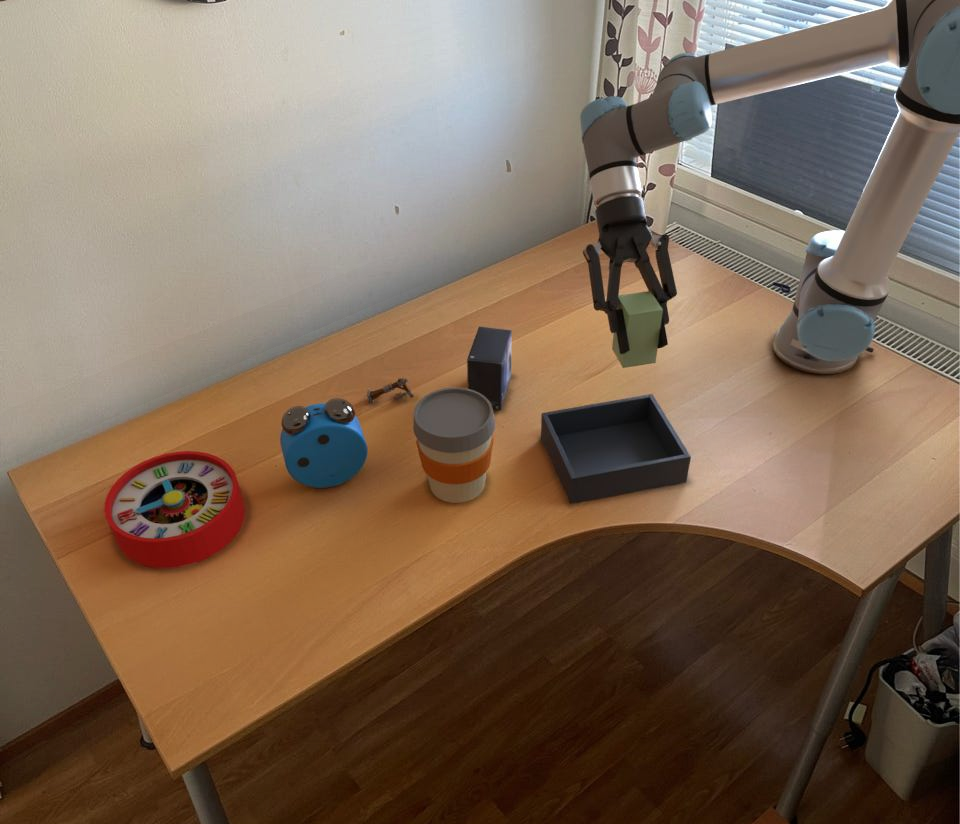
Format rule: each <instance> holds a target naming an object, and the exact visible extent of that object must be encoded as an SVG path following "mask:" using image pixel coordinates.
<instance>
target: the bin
mask: <svg viewBox="0 0 960 824" xmlns="http://www.w3.org/2000/svg"><path fill="white" fill-rule="evenodd" d="M540 421H541V423H540V440H541V442H542V444H543V446H544V448H545V451H546V453H547V456H548V458H549V460H550V462H551V465H552V467H553V469H554V472H555V474H556V476H557V478H558V479H559V483H560V485H561V487H562V490H563V492H564V494H565V497H566V498H567V501H568V503H569V505H574V504H579V503H585V502H589V501H590V502H591V501H596V500H601V499H605V498H611V497H612V498H613V497H616V496H621V495H622V496H623V495H627V494H633V493H637V492H642V491H648V490H653V489H659V488H665V487H669V486H675V485H679V484H680V485H681V484H684V483H685V484H686V483H687V481H688V475H689V470H690V464H691V458H692V456H691V455H690V453H689V451H688V449H687V447H685V444H684V443H683V441H682V440H681V438H680V437H679V435H678V433H677V432H676V430H675V428H674V427H673V425H672V423H671V422H670V420H669V418H668V417H667V415H666V413H665V412H664V410H663V409H662V407H661V405H660V404H659V402H658V400H657V399H656V397H655V395H654V394H653V393H649V394H644V395H638V396H632V397H627V398H620V399H615V400H609V401H603V402H597V403H591V404H587V405H581V406H574V407H568V408H563V409H557V410H551V411H547V412H541V419H540Z"/></svg>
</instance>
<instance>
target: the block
mask: <svg viewBox="0 0 960 824" xmlns="http://www.w3.org/2000/svg"><path fill="white" fill-rule="evenodd" d="M618 309H623V314H624V320H625V326H626V331H627V337H628V343H629V348H630V351H628V352H626V353H625V354H620V351H619V345H618V339H617V334H616V333H612V335H613V336H612V343H611V344H612V345H611V349H612V352H613V353H614V355H615V357H616V359H617V360H618V362H619V364H620V365H621V367H622V369H625V368H631V367H632V368H633V367H640V366H645V365H652V364H656V362H657V357H658V356H657V355H658V349H659V348H658V341H659V334H660V327H661V320H662V313H663V309H662V307H661V306H660V305H659V303H658V302H657V300H656V299H655V297H654V296H653V294H652V293H651V291H648V290H647V291H641V292H633V293H627V294H619V295H618V305H617V310H618Z"/></svg>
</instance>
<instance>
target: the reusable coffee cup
mask: <svg viewBox="0 0 960 824" xmlns="http://www.w3.org/2000/svg"><path fill="white" fill-rule="evenodd" d="M412 421H413V422H412V423H413V424H412V426H413V427H412V430H413V435H414V437H415V438H416V443H415V444H416V449H417V453H418V456H419V457H418V458H419V460H420V464H421V467H422V469H423V471H424V473H425V474H426V476H427V477H426V478H427V480H428V483H429V488H430V490H431V492H432V494H433V495H434V496H435V497H436V498H438V499H439V500H441V501H444V502H446V503H452V504H460V503H466V502H469V501H472V500H474V499H475V498H477V497H479V496H480V495H481V494H482V493H483V491H484V489H485V487H486V486H485V485H486V479H487V472H488V470H489V469H490V466H491V462H492V454H493V449H494V440H495V439H494V432H495V429H496V421H495V415H494V410H493V409H492V405H491V403H490V401H489V400H488V399H487V398H486V397H485V396H484V395H482V394H481V393H479V392H476V391H474V390H470V389H468V388H466V387H445V388H439V389H436V390H434V391H431V392H429V393H428V394H426V395H424V396H423V397H422V398H421V399H419V401H418V402H417V403H416V405H415V407H414V409H413V420H412Z"/></svg>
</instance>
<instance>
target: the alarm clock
mask: <svg viewBox="0 0 960 824" xmlns="http://www.w3.org/2000/svg"><path fill="white" fill-rule="evenodd" d="M279 442H280V448H281V452H282V457H283V460H284V461H283V462H284V466H285V468H286V471H287V473H288V474H289V475H290V476H291V478H293V479H294V480H295V481H296V482H298V483H299V484H301V485H304V486H307V487H309V488H314V489H315V488H316V489H325V488H333V487H336V486H339V485H342V484H345V483H347V482H348V481H350V480H351V479H353V478H354V477H356V476H357V474H358V473H359V472H361V470H362V469H363V467H364V466H365V464H366V461H367V459H368V451H369V450H368V444H367V442H366V438H365V435H364V432H363V429H362V426H361V423H360V421H359V419H358V417H357V416H356V411H355V408H354V406H353V405H352V404H351V402H349V401H348V400H346V399H344V398H342V397H341V398H340V397H335V398H331V399H329V400H327V401H326V402H325V403H324V402H322V403H314V404H311V405H307V406H302V405H295V406H292V407H290V408H289V409H287V410H286V411H285V412H284V413H283V416H282V418H281V432H280V438H279Z"/></svg>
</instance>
